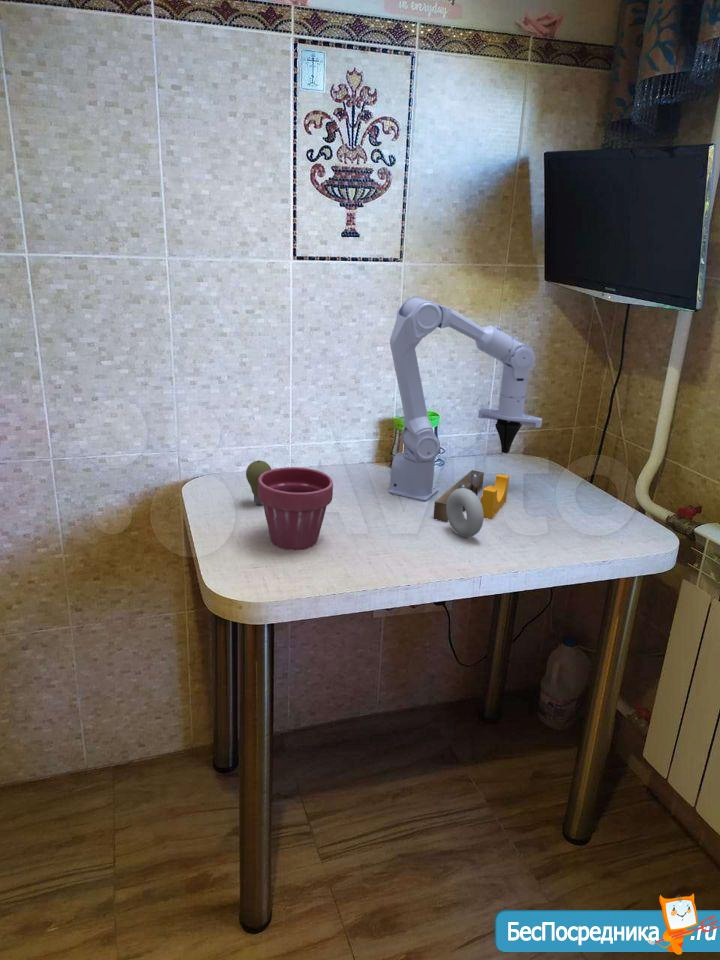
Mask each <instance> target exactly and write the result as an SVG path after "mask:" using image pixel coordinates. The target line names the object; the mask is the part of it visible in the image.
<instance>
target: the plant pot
mask: <svg viewBox="0 0 720 960" xmlns="http://www.w3.org/2000/svg"><path fill="white" fill-rule="evenodd" d="M333 491H334V481H333V478H331V476H330V475H328V474H327V473H325V472H323V471H321V470H317V469H313V468H307V467H299V466H298V467H297V466H296V467H295V466H289V467H280V468H279V467H277V468H273V469H272V470H269V471H266V472H264V473H263V474H261V475H260V476H259V479H258V499H259V500H260V501H261V502H262V503H263V504H262V507H263V510H264V516H265V520H266V524H267V528H268V531H269V532H268V533H269V538H270V541H271V543H272V545H274V546H275V547H277V548H279V549H282V550H286V551H287V550H288V551H302V550H307V549H309V548H312V547H314V546H315V545H316V544H317V543H318V539H319V537H320V532H321V529H322V525H323V522H324V518H325V514H326V509H327V506H329V504H331V502H332V501H333V497H334V496H333V495H334V492H333Z"/></svg>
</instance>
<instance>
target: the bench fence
mask: <svg viewBox="0 0 720 960" xmlns="http://www.w3.org/2000/svg"><path fill="white" fill-rule="evenodd" d="M484 475H485V472H482V471H477V470H473V469H472V470H470V471H469V472H468V473H467V474H466V475H464V476H463V477H462V478H461V479H459V480H458V481H457V482H456V483H455V484H454V485H453V486H451V487H450V488H448V490H446V491H445V492H444V493H443V494H442V495H441V496H440V497H438V498H437V499H436V500H435V501H434V506H433V520H435V519H437V521H440V520H441V521H440V522H444V521H445V523H447V522H449V521H448V518H447V513H446V505H447V500H448V498H449V496H450V494H451V493H452V492H453V491H455V490H456V489H460V488H466V489H469V490H471V491H472V492H473V493H475V494H476V496H477V497H478V495H479V494H478V493H479V492H480V491H481V490H482V489H483V484H484ZM464 512H466V510H465V508H464V506H463V513H464Z"/></svg>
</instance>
